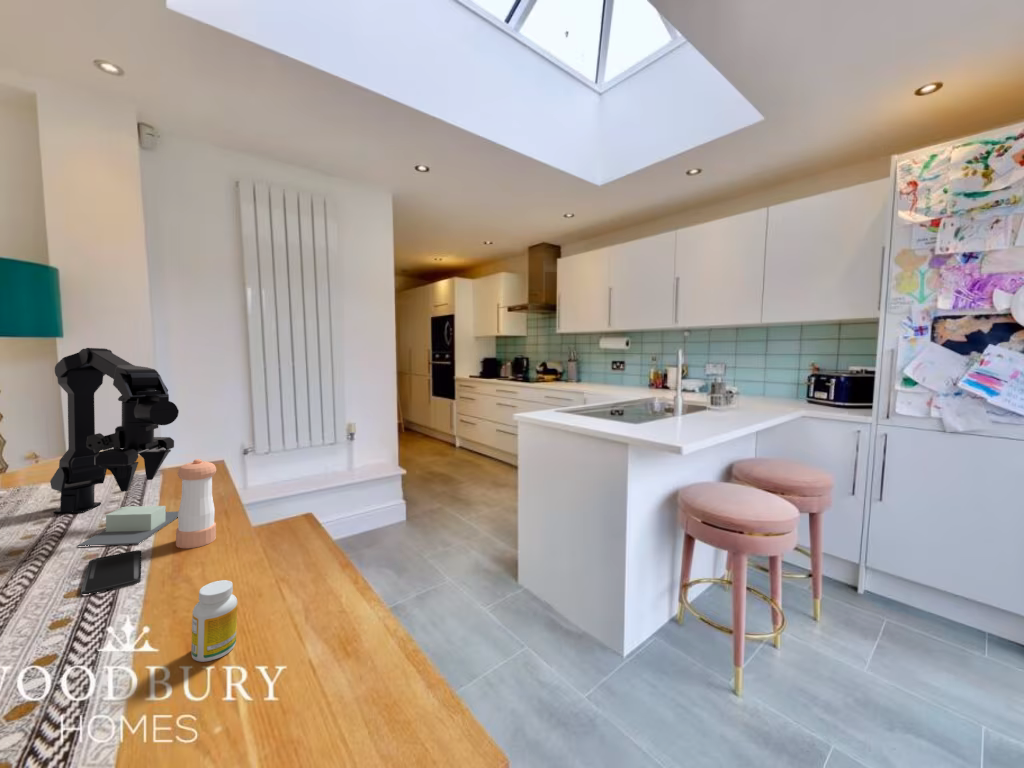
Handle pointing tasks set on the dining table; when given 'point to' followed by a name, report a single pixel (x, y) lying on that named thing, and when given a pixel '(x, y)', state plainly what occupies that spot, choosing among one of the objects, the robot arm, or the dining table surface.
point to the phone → (112, 572)
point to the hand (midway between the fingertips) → (137, 485)
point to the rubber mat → (127, 534)
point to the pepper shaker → (196, 505)
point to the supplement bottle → (214, 621)
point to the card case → (135, 518)
